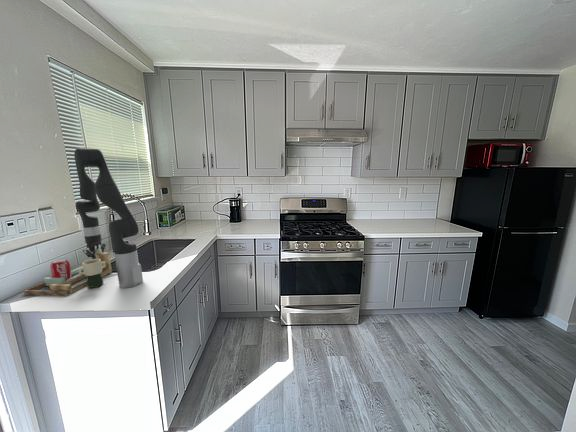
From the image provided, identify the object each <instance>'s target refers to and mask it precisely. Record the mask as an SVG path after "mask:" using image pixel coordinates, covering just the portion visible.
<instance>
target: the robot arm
mask: <svg viewBox="0 0 576 432" xmlns="http://www.w3.org/2000/svg"><path fill="white" fill-rule="evenodd" d="M74 162H75V163H74V164H75V168H76V173H77V177H78V181H79V197H80V198H81V199H82V200H78V201H77V202H76V203H75V208H76V210H77V212H78V214H79V217H80V218H81V221H82V227H83V236H84V237H83V238H84V243H85V244H86V247H85V249H83V250H82V253H84V255H86V256H87V258H90V257H92V259H96V255H95V253H97V250H96V249H101V250H102V253H105V252H104V251H105V248H106V243H102V240H103V239H102V233H101V228H100V225H99V223H100V222H99V218H98V217H97V216H96V215H88V214H87V213H96V212H98V211H99V210H100V209H101V204H100V203H102V204H103V205H104V206H105V207H106V208H107V207H108V208H109V209H111V210H112V211H114V212H115V213H116V214H117V215H118V216H119V217H120V218H121V219H115V220H112V221H110V222H109V223H108V231H109V235H110V241H111V246H112V249H113V255H114V259H115V260H114V261H115V267H116V272H117V273H116V274H117V280H118V285H119V288H121V289H126V288H132V287H133V288H135V287H137V286H138V285H140V284H141V283H143V282H144V278H143V270H142V265H141V263H139V256H138V249H137V244H135V243H133V242H124V239H126V238H131V237H134V236H137V235H138V233H139V225H138V223H137V221H136V219H135V218H134V216H133V214H132V212H131V211H130V210H129V207H127V204H126V203H125V200H124V198H123V197H122V194H121V191H120V190H119V188H118V185H117V184H116V182H115V180H114V178H113V176H112V173H111V171H110V169H109V167H108V164H107V161H106V158H105V155H104V153H103V152H102V151H101V149H99V148H91V147H90V148H89V147H87V148H86V147H80V148H79V147H78V148H76V149H75V150H74ZM95 167H96V168H98V170H99V172H98V176H97V179H96V181H94V179H93V178H92V177H90V175H89V174H88V173H87V171H86V168H95ZM99 201H100V203H99ZM93 254H94V255H93Z"/></svg>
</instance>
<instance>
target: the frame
mask: <svg viewBox="0 0 576 432" xmlns="http://www.w3.org/2000/svg"><path fill="white" fill-rule="evenodd" d="M45 287H46V286H45V282H44V281H43V282H42V283H39V284H37V285H34V286H31V287H29V288H26V289H25V290H24V289H23V294H24V296H47V295H49V296H50V297H51V296H52V297H69V295H70V294H68V291H51V290H42V289H43V288H45ZM49 296H48V297H49Z"/></svg>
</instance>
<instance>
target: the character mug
mask: <svg viewBox="0 0 576 432" xmlns="http://www.w3.org/2000/svg"><path fill="white" fill-rule="evenodd" d="M102 263H103V266H102ZM81 265H82V266H83V267H82V266H81V267H82V268H80V267H78V268H79V272H78V273H79V274H80V275H82V274H85V275H86V276H88V277H86V279H87V285H86V287H88V288H97V287H100V286H101V285H103V284H104V280H103V277H102V276H101V274H100V273H102V268H104V267H106V265H105V261H103V262H101V259H91V260H90V259H87V260H84V261H82V263H81ZM82 269H83V270H82ZM81 270H82V271H83V272H82V271H81ZM79 274H78V275H79Z"/></svg>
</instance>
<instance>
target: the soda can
mask: <svg viewBox="0 0 576 432" xmlns="http://www.w3.org/2000/svg"><path fill="white" fill-rule="evenodd" d="M49 267H50V273H51V278H64V280H65V281H66V280H68V279H70V278H73V275H72V274H71V271H72V269H71V265H70V261H69V260H68V259H67V258H58V259H54V260H52V261H51V262H50V266H49Z"/></svg>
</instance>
